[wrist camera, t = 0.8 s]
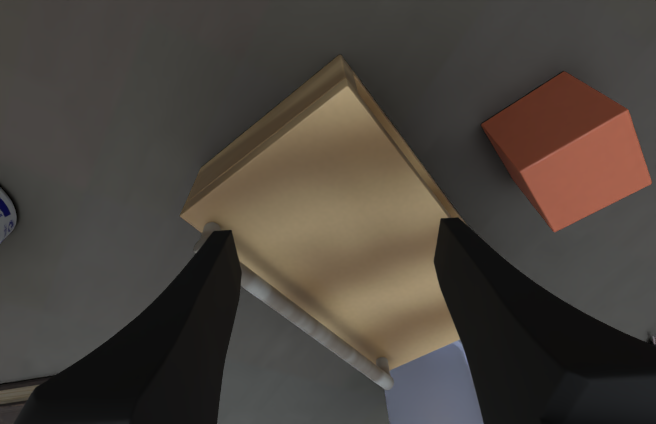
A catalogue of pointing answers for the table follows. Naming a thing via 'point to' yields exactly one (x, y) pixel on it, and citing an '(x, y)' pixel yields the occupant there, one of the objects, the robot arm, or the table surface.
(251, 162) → the wooden storage box
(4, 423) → the hardcover book
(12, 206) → the energy drink
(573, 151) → the block
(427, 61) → the table surface
